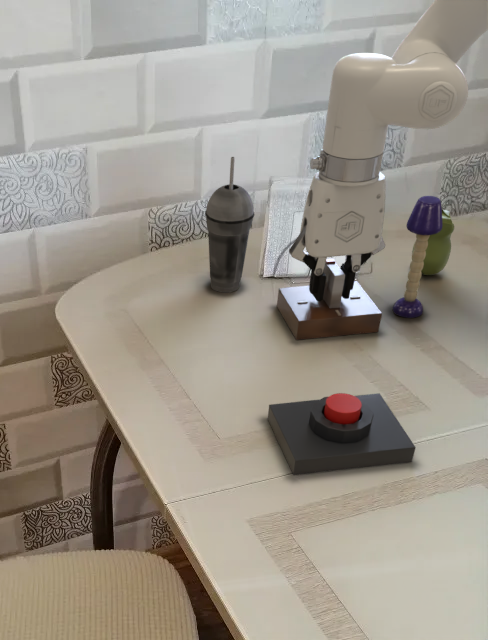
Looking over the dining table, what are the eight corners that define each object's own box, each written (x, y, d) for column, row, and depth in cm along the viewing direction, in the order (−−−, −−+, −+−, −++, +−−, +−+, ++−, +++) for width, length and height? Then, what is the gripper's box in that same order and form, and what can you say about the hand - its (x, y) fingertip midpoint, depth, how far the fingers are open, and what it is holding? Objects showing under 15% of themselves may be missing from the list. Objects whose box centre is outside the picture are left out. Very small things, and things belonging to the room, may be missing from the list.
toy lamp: (412, 322, 115) (439, 208, 104) (382, 312, 117) (406, 200, 106) (427, 309, 117) (455, 197, 106) (398, 300, 120) (422, 189, 109)
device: (376, 407, 100) (382, 380, 97) (412, 462, 91) (419, 434, 89) (267, 418, 99) (270, 392, 96) (293, 475, 90) (297, 447, 88)
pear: (443, 266, 127) (459, 205, 121) (445, 282, 124) (462, 219, 117) (407, 264, 128) (420, 203, 122) (408, 279, 125) (422, 216, 118)
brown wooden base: (353, 299, 121) (357, 279, 118) (378, 332, 113) (382, 312, 111) (276, 306, 120) (278, 287, 118) (296, 340, 112) (298, 320, 110)
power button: (352, 403, 94) (354, 391, 93) (364, 423, 91) (366, 411, 90) (319, 407, 94) (321, 394, 93) (330, 427, 91) (332, 414, 90)
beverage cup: (249, 276, 127) (260, 146, 114) (247, 297, 122) (258, 164, 109) (204, 274, 128) (209, 145, 115) (199, 295, 123) (205, 162, 110)
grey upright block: (339, 307, 113) (345, 273, 109) (329, 308, 112) (335, 274, 109) (328, 291, 116) (333, 257, 113) (318, 292, 116) (323, 258, 113)
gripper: (296, 180, 98) (281, 313, 111) (424, 169, 100) (395, 302, 112) (279, 159, 104) (266, 288, 116) (400, 149, 105) (375, 278, 117)
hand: (329, 294), depth 114 cm, fingers open, 3 cm apart
